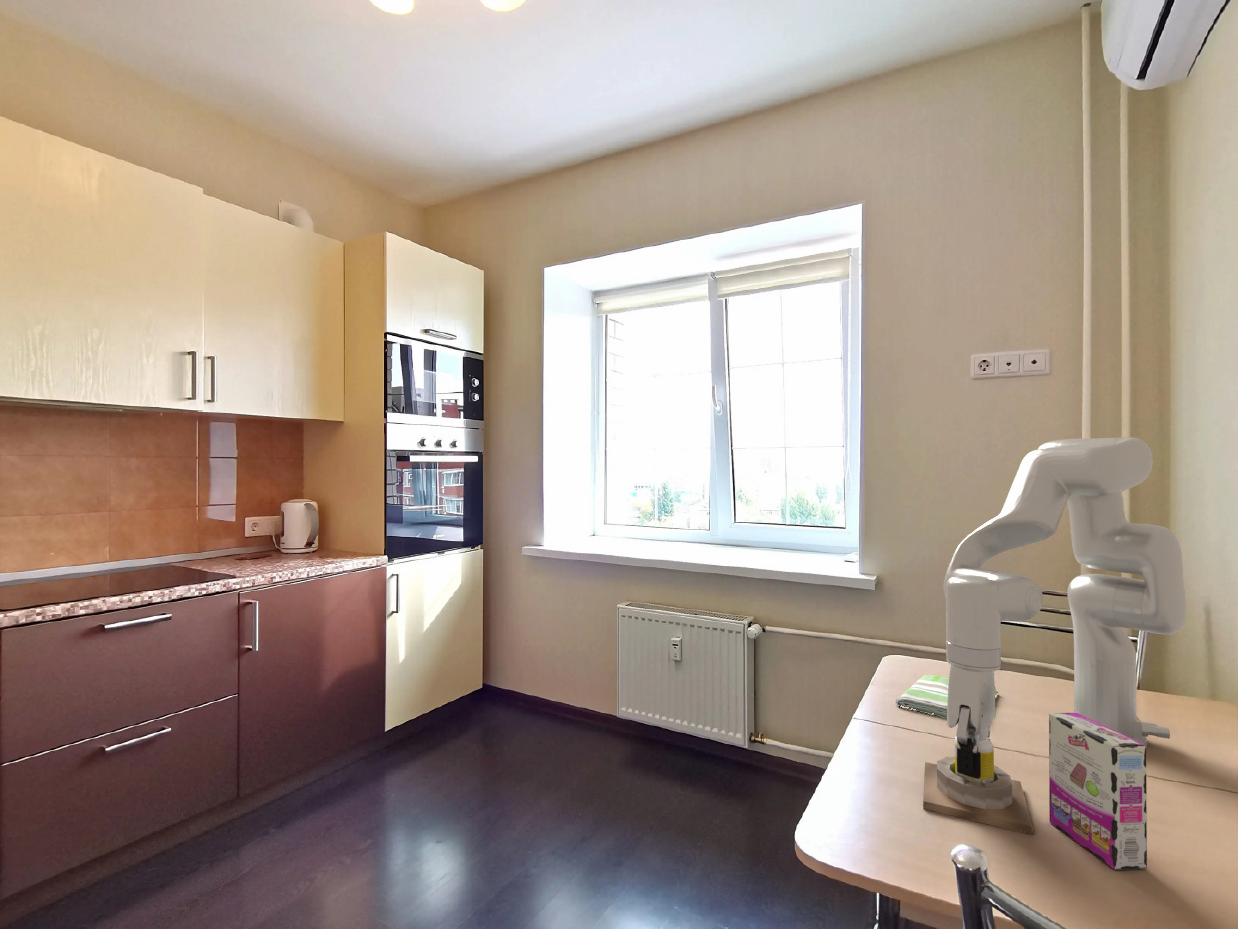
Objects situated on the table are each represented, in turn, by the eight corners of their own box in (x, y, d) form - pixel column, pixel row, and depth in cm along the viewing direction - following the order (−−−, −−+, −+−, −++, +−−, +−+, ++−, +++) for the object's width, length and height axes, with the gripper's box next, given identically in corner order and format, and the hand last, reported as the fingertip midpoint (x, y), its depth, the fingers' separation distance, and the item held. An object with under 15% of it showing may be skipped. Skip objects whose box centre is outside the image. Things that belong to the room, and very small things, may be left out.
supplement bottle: (992, 782, 97) (992, 721, 97) (996, 798, 92) (995, 734, 92) (954, 774, 100) (953, 715, 100) (955, 790, 95) (955, 728, 95)
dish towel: (893, 708, 133) (893, 692, 133) (919, 680, 151) (919, 666, 151) (983, 730, 122) (982, 713, 122) (1000, 697, 140) (1000, 682, 140)
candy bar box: (1150, 870, 79) (1149, 745, 79) (1115, 872, 78) (1114, 746, 79) (1078, 820, 90) (1077, 710, 90) (1047, 822, 90) (1046, 711, 90)
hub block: (1020, 788, 99) (1020, 763, 99) (1032, 834, 86) (1032, 805, 86) (925, 768, 105) (925, 744, 105) (923, 808, 93) (923, 781, 93)
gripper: (961, 638, 105) (962, 742, 105) (931, 662, 92) (932, 780, 92) (1011, 647, 100) (1012, 756, 100) (986, 674, 87) (988, 798, 87)
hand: (973, 767), depth 96 cm, fingers closed on supplement bottle, 5 cm apart
